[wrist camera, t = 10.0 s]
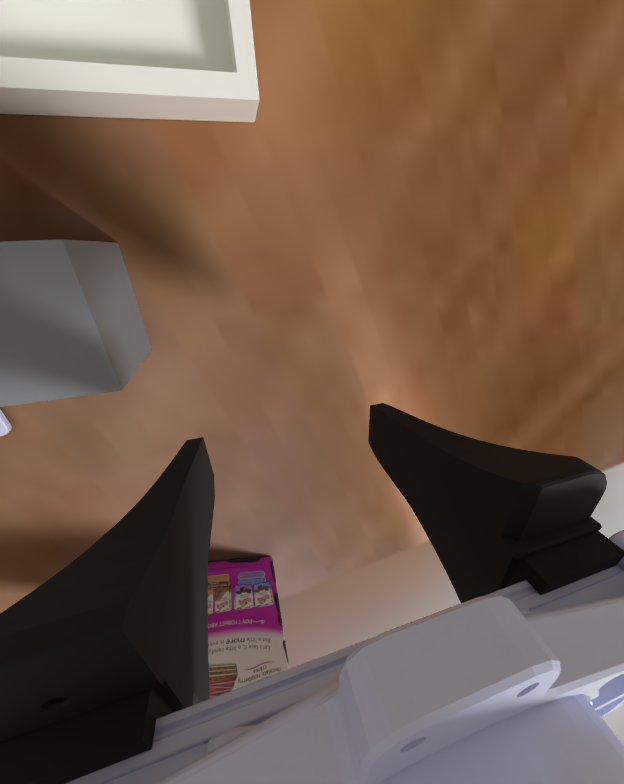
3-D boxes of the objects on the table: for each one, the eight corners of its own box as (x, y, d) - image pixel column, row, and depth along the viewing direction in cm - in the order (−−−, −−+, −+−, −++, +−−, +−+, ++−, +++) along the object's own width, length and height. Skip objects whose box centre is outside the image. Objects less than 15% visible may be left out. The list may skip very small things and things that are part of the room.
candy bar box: (152, 597, 28) (76, 958, 14) (154, 564, 26) (68, 942, 12) (265, 584, 32) (296, 856, 17) (274, 554, 30) (317, 831, 16)
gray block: (42, 361, 17) (-42, 412, 11) (-17, 248, 14) (-162, 247, 9) (152, 349, 18) (121, 390, 13) (118, 242, 15) (62, 239, 10)
